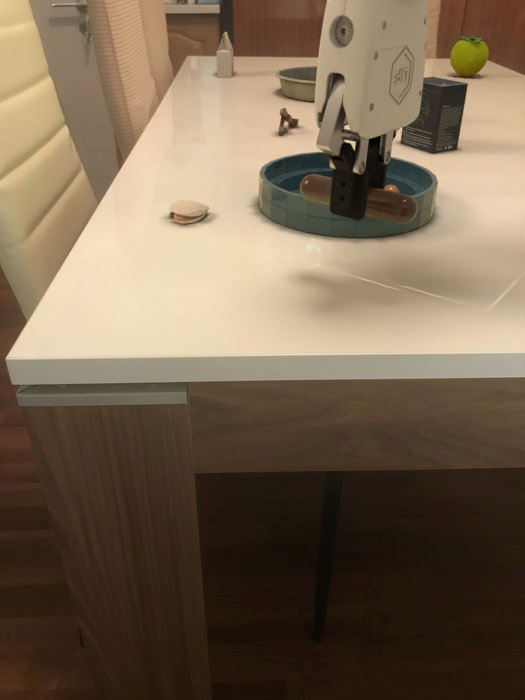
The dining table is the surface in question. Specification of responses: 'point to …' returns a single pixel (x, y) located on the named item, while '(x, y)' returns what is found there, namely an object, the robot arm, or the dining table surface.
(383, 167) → the robot arm
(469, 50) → the fruit
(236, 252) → the dining table surface
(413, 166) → the bowl
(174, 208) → the clam shell
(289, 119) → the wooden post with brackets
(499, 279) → the dining table surface
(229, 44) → the beige pointed block
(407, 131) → the box
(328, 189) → the stick
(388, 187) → the bead
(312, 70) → the cake pan
